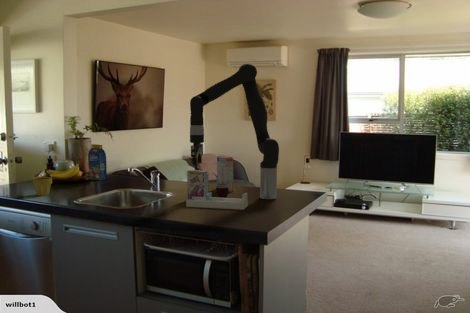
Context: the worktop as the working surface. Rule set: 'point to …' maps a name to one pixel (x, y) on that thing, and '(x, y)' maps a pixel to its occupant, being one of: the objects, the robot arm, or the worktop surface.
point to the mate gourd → (221, 189)
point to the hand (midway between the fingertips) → (197, 163)
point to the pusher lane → (219, 203)
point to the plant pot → (42, 185)
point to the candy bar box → (197, 183)
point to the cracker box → (225, 171)
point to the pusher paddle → (210, 198)
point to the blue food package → (97, 163)
